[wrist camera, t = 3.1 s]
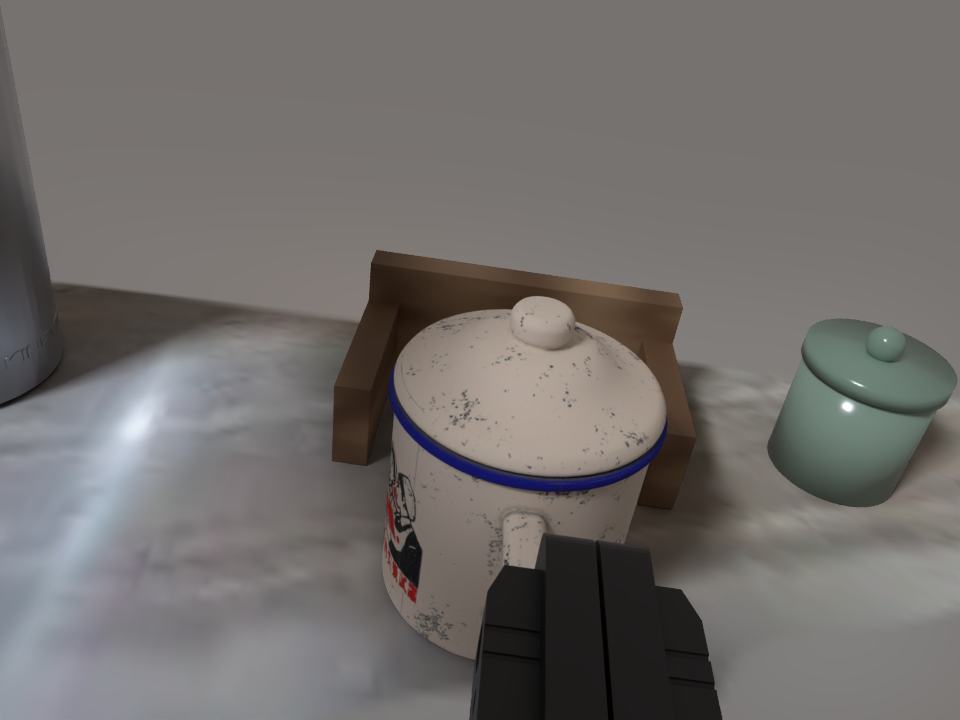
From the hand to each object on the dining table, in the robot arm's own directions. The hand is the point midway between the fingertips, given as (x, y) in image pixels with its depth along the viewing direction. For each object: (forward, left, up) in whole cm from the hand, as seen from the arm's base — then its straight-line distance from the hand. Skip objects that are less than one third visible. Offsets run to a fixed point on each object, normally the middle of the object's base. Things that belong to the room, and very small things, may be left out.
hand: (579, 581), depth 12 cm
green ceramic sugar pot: (+16, +23, -14) cm, 32 cm away
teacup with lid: (0, +12, -15) cm, 19 cm away
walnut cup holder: (0, +23, -14) cm, 27 cm away
